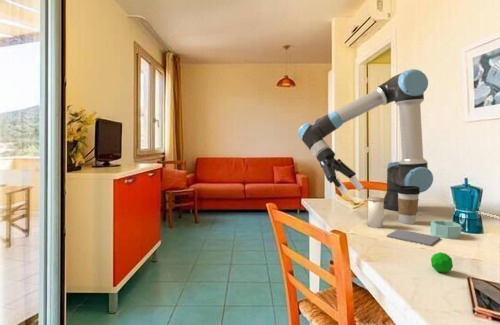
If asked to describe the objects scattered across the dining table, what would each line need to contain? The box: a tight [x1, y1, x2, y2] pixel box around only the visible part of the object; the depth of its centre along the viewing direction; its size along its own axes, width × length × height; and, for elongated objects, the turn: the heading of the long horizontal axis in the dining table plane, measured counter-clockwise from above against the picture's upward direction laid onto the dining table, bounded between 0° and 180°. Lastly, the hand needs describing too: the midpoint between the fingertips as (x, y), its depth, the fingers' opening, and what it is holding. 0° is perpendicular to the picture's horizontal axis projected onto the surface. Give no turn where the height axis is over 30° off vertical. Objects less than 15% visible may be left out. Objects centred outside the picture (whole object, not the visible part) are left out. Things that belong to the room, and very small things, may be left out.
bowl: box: [429, 219, 462, 240], centre depth 117 cm, size 9×9×4 cm
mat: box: [386, 228, 441, 247], centre depth 114 cm, size 11×14×1 cm
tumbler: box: [367, 196, 385, 229], centre depth 129 cm, size 6×6×11 cm
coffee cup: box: [397, 186, 421, 225], centre depth 135 cm, size 8×8×15 cm
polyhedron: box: [430, 252, 454, 274], centre depth 85 cm, size 5×5×5 cm
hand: (353, 191), depth 134 cm, fingers open, 13 cm apart
